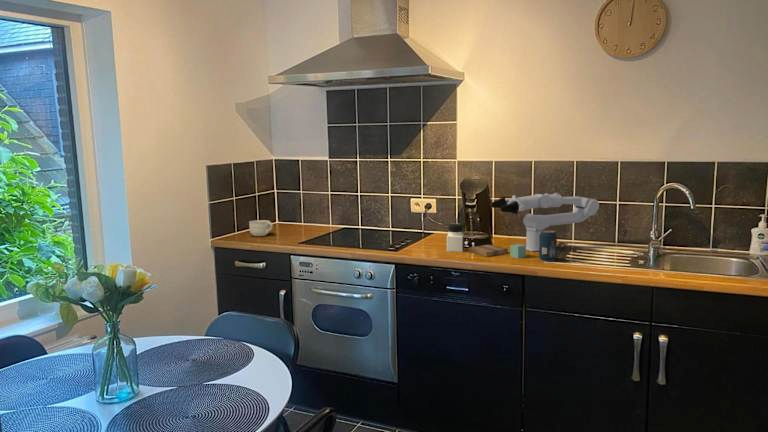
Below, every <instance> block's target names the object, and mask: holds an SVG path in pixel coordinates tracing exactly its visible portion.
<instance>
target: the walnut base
mask: <svg viewBox="0 0 768 432" xmlns="http://www.w3.org/2000/svg"><path fill="white" fill-rule="evenodd" d="M468 253H471V254H474V255H479V256H482V257H487V258H488V257H494V256H499V255H505V254H508V248H506V247H502V246H497V245H492V244H483V245H476V246H471V247H468Z"/></svg>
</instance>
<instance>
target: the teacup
mask: <svg viewBox="0 0 768 432" xmlns="http://www.w3.org/2000/svg"><path fill="white" fill-rule="evenodd" d="M248 225H249V227H248V228H249V232H250V234H251V235H252V236H253V237H266V236H267V235H268V234H269V233H270V232H271V230H272V229H273V228H274V224H273V222H271V221H270V220H265V219H263V220H262V219H260V220H258V219H256V220H250V221H248Z"/></svg>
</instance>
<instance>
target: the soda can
mask: <svg viewBox="0 0 768 432" xmlns="http://www.w3.org/2000/svg"><path fill="white" fill-rule="evenodd" d="M557 245H558V235H557V233H556V230H553V229H552V230H551V229H546V230H542V231H541V233H540V235H539V251H538V257H539V259H540V261H543V262H554V261H556V259H557V255H558V254H557V253H558V252H557V247H558V246H557Z"/></svg>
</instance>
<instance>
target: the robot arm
mask: <svg viewBox="0 0 768 432" xmlns="http://www.w3.org/2000/svg"><path fill="white" fill-rule="evenodd" d="M562 205H573V210H572V211H571V212H563V213H555V214H554V213H553V214H545V215H544V214H533V213H526V215H525V216H524V217H523V221H522V222H523V225H524V226H525V229H526V235H525V236H526V237H525V241H526V244H525V245H526V251H529V252H539V235H540V233H541V231H542V230H547V229H546V228H549V227H550V226H560V225H569V224H570V225H571V224H578V223H583V222H584V221H586V220H587V219H588V218H590V217H591V216H595V215H596V214H597V212H598V210H599V208H600V201H598V200H597V199H595V198H588V197H583V196H577V195H574V196H572V195H571V196H562V195H561V194H559V193H558V192H554V193H553V194H551V193H550V194H549V193H548V192H547V193H544V194H540V193H535V194H533V195H526V196H520V197H517V196H516V195H515V194H514V195H513V194H512V196H511V198H506V196H501V197H500V198H499V199H496V200H495V201H492V202H491V205H490V207H491V208H494V209H500V212H502V213H503V212H504V213H511V214H515V215H518V213H519V212H522V211H525V210H526V211H527V210H533V209H537V208H541V209H547V208H560V207H561V206H562Z"/></svg>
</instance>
